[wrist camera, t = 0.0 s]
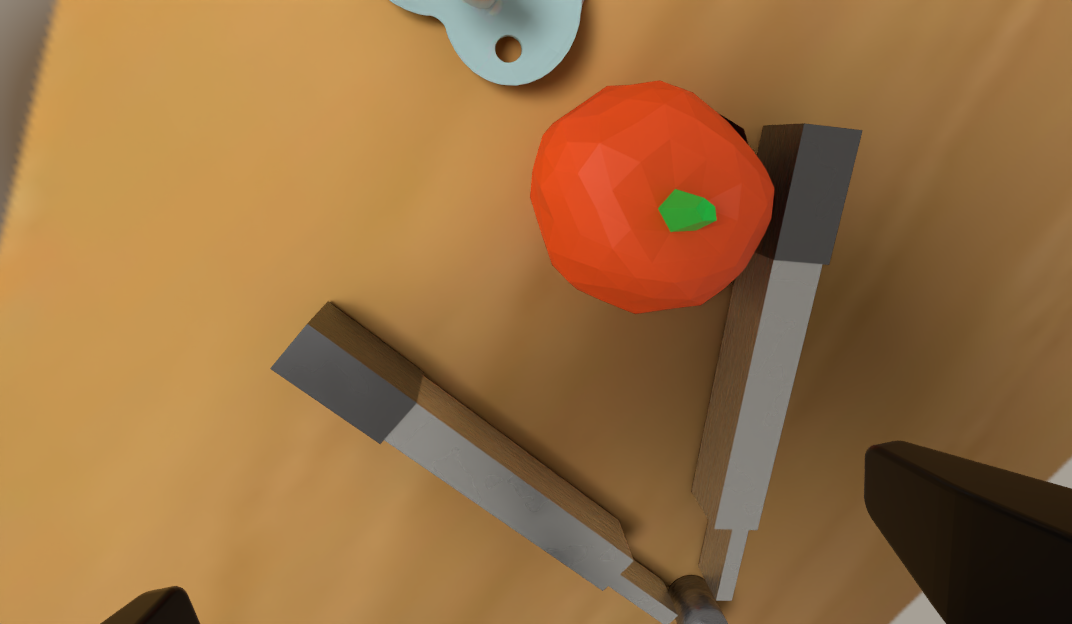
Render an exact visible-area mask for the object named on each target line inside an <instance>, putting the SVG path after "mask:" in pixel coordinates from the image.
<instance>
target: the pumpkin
mask: <svg viewBox="0 0 1072 624" xmlns="http://www.w3.org/2000/svg"><path fill="white" fill-rule="evenodd" d="M774 189H775V188H774V186H773V184H772V181H771V179H770V177H769V174H768V172H767V170H766V169H765V167H764V165H763V164H762V162H761V161H760V159H759V158H758V157H757V155H756V154H755V153H754V152H753V150H752V149H751V148H750V146H749V145H748V142H747V139H746V135H745V132H744V129H743V128H741V127H740V126H738V125H736V124H735V123H733V122H732V121H730V120H728V119H727V118H725V117H723V116H722V115H720V114H718V113H717V112H716V111H714V110H713V109H712V108H711V107H710V106H708V105H707V104H706V103H705V102H704V101H702V100H701V99H700V98H699V97H698V96H696V95H695V94H694V93H693V92H690V91H687V90H684V89H682V88H679V87H676V86H673V85H671V84H668V83H665V82H662V81H653V82H647V83H640V84H634V85H619V86H606V87H605V88H604V89H602V90H601V91H599V92H598V93H596V94H595V95H593V96H592V97H591V98H589V99H588V100H586V101H585V102H583V103H582V104H581V105H579V106H578V107H576V108H575V109H573V110H572V111H570V112H569V113H567V114H566V115H564V116H563V117H561V118H560V119H559V120H557V121H556V122H554V123H553V124H552V125H551V126H550V127H549V128H548V130H547V131H546V132H545V133H544V134H543V136H542V140H541V143H540V146H539V149H538V153H537V156H536V160H535V163H534V167H533V172H532V183H531V194H530V198H531V201H532V204H533V208H534V211H535V214H536V217H537V221H538V224H539V227H540V230H541V233H542V236H543V239H544V242H545V245H546V248H547V251H548V254H549V257H550V260H551V263H552V265H553V266H554V267H555V268H556V269H557V270H558V271H559V272H560V273H561V274H562V276H563V277H564V278H565V279H566V280H567V281H568V282H569V283H571V284H572V285H573V286H574V287H575V288H576V289H578V290H580V291H582V292H584V293H586V294H589V295H591V296H593V297H595V298H597V299H599V300H602V301H604V302H607V303H609V304H612V305H614V306H617V307H619V308H622V309H624V310H627V311H629V312H632V313H634V314H638V313H645V312H652V311H659V310H666V309H673V308H681V307H689V306H697V305H702V304H703V303H705V302H706V301H708V300H709V299H710V298H712V297H713V296H715V295H716V294H717V293H719V292H720V291H722V290H723V289H724V288H725V287H726V286H727V285H729V284H730V283H731V282H732V281H733V280H734V279H735V278H736V277H738V276H739V274H740V273H741V272H742V271H743V270H744V269H745V268H746V266H747V264H748V263H749V261H750V259H751V257H752V255H753V254H754V252H755V250H756V248H757V247H758V245H759V243H760V241H761V239H762V238H763V236H764V234H765V232H766V230H767V227H768V225H769V223H770V222H771V220H772V215H773V211H774V206H775V202H776V197H775V194H774Z"/></svg>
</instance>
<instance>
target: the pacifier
mask: <svg viewBox="0 0 1072 624" xmlns="http://www.w3.org/2000/svg"><path fill="white" fill-rule="evenodd" d="M390 1H391V2H392V3H394V4H396V5H398V6H400V7H402V8H404V9H406V10H408V11H411V12H414V13H417V14H420V15H427V16H434V17H436V18H437V19H439V20H440V21H441V22H442V23H443V24H444V26H445V28H446V31H447V34H448V37H449V40H450V42H451V43H452V45H453V47H454V49H455V51H456V53H457V54H458V55H459V57H460V58H461V59H462V61H463V62H464V63H465V64H466V65H467V66H468V67H469V68H470V69H471V70H472V71H473V72H475V73H476V74H478V75H479V76H481V77H483V78H484V79H486V80H488V81H491V82H493V83H497V84H501V85H513V86H515V85H521V84H527V83H530V82H532V81H535V80H537V79H540V78H542V77H543V76H545V75H546V74H548V73H549V72H551V71H552V70H553V69H554V68H555V67H556V66H557V65H558V64H559V63H560V62H561V61H562V59H563V58H564V57H565V55H566V54H567V52H568V51H569V49H570V47H571V45H572V43H573V41H574V39H575V37H576V33H577V30H578V26H579V23H580V13H581V9H582V4H583V2H584V0H390ZM507 36H509V37H513V38H515V39H517V40H518V41H519V43H520V45H521V49H522V52H521V56H520V57H519V58H518V59H517V60H516V61H514V62H511V63H506V62H503V61H501V60H500V59H499V58H498V57H497V55H496V53H495V45H496V43H497V41H498V40H499V39H501V38H503V37H507Z"/></svg>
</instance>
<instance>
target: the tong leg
mask: <svg viewBox="0 0 1072 624" xmlns="http://www.w3.org/2000/svg"><path fill="white" fill-rule="evenodd" d="M270 369H271V370H273V371H274V372H276V373H277V374H279V375H280V376H282V377H283V378H285V379H286V380H287V381H289V382H290V383H292V384H293V385H295V386H296V387H298V388H299V389H301V390H302V391H304V392H305V393H306V394H308V395H309V396H311V397H312V398H314V399H315V400H317V401H318V402H320V403H321V404H322V405H324V406H325V407H327V408H328V409H330V410H331V411H333V412H334V413H336V414H337V415H339V416H340V417H341V418H343V419H344V420H346V421H347V422H349V423H350V424H352V425H353V426H355V427H356V428H357V429H359V430H360V431H362V432H363V433H365V434H366V435H368V436H369V437H371V438H372V439H374V440H375V441H376V442H378V443H379V444H381V443H382V441H383V440H385V441H386V442H388V443H389V444H391V445H392V446H394V447H395V448H396V449H398V450H399V451H401V452H402V453H404V454H405V455H407V456H408V457H409V458H411V459H412V460H414V461H415V462H417V463H418V464H420V465H421V466H423V467H424V468H425V469H427V470H428V471H430V472H431V473H433V474H434V475H436V476H437V477H438V478H440V479H441V480H443V481H444V482H446V483H447V484H449V485H450V486H452V487H453V488H454V489H456V490H457V491H459V492H460V493H462V494H463V495H465V496H466V497H467V498H469V499H470V500H472V501H473V502H475V503H476V504H478V505H479V506H481V507H482V508H483V509H485V510H486V511H488V512H489V513H491V514H492V515H494V516H495V517H496V518H498V519H499V520H501V521H502V522H504V523H505V524H507V525H508V526H510V527H511V528H512V529H514V530H515V531H517V532H518V533H520V534H521V535H523V536H524V537H525V538H527V539H528V540H530V541H531V542H533V543H534V544H536V545H537V546H539V547H540V548H541V549H543V550H544V551H546V552H547V553H549V554H550V555H552V556H553V557H554V558H556V559H557V560H559V561H560V562H562V563H563V564H565V565H566V566H568V567H569V568H570V569H572V570H573V571H575V572H576V573H578V574H579V575H581V576H582V577H583V578H585V579H586V580H588V581H589V582H591V583H592V584H594V585H595V586H597V587H598V588H599V589H601V590H602V591H603V590H604V589H605V588H606V587H607V586H609V587H611V588H612V589H614V590H615V591H616V592H618V593H619V594H621V595H622V596H624V597H625V598H627V599H628V600H629V601H631V602H632V603H634V604H635V605H637V606H638V607H639V608H641V609H642V610H644V611H645V612H647V613H648V614H650V615H651V616H652V617H654V618H655V619H657V620H658V621H660V622H661V623H662V624H669V623H670V622H672V621H673V620H674V619H675V618H676V617H677V616H678V614H677V612H676V610H675V607H674V605H673V603H672V600H671V598H670V596H669V593H668V591H667V589H666V586H665V584H664V582H663V580H661V579H660V578H659V577H657V576H656V575H655V574H653V573H652V572H650V571H649V570H648V569H646V568H645V567H644V566H642V565H641V564H639V563H638V562H637V561H635V560H634V559H633V557H632V554H631V551H630V549H629V546H628V543H627V541H626V538H625V535H624V533H623V530H622V527H621V525H620V522H619V520H618V519H616V518H615V517H614V516H612V515H611V514H609V513H608V512H607V511H605V510H604V509H603V508H601V507H600V506H599V505H597V504H596V503H595V502H593V501H592V500H591V499H589V498H588V497H587V496H585V495H584V494H583V493H581V492H580V491H579V490H577V489H576V488H574V487H573V486H572V485H570V484H569V483H568V482H566V481H565V480H564V479H562V478H561V477H560V476H558V475H557V474H556V473H554V472H553V471H552V470H550V469H549V468H548V467H546V466H545V465H544V464H542V463H541V462H539V461H538V460H537V459H535V458H534V457H533V456H531V455H530V454H529V453H527V452H526V451H525V450H523V449H522V448H521V447H519V446H518V445H517V444H515V443H514V442H513V441H511V440H510V439H509V438H507V437H506V436H504V435H503V434H502V433H500V432H499V431H498V430H496V429H495V428H494V427H492V426H491V425H490V424H488V423H487V422H486V421H484V420H483V419H482V418H480V417H479V416H478V415H476V414H475V413H474V412H472V411H471V410H470V409H468V408H467V407H465V406H464V405H463V404H461V403H460V402H459V401H457V400H456V399H455V398H453V397H452V396H451V395H449V394H448V393H447V392H445V391H444V390H443V389H441V388H440V387H439V386H437V385H436V384H435V383H433V382H432V381H430V380H429V379H428V378H426V377H425V376H424V375H423V373H424V372H423V371H421V370H420V369H418V368H417V367H416V366H414V365H413V364H412V363H410V362H409V361H408V360H406V359H405V358H404V357H402V356H401V355H400V354H398V353H397V352H396V351H394V350H393V349H392V348H390V347H389V346H388V345H386V344H385V343H384V342H382V341H381V340H380V339H378V338H377V337H376V336H374V335H373V334H371V333H370V332H369V331H367V330H366V329H365V328H363V327H362V326H361V325H359V324H358V323H357V322H355V321H354V320H353V319H351V318H350V317H349V316H347V315H346V314H345V313H343V312H342V311H341V310H339V309H338V308H337V307H335V306H334V305H333V304H331V303H330V302H329V301H328V302H327V303H326V304H325V305H324V306H323V307H322V308H321V310H320V311H319V312H318V313H317V314H316V315H315V316H314V317H313V318H312V319H311V320H310V321H309V323H308V324H307V325H306V326H305V327H304V328H303V330H302V331H301V332H300V333H299V334H298V336H297V337H296V338H295V339H294V341H293V342H292V343H291V344H290V345H289V347H288V348H287V349H286V350H285V351H284V353H283V354H282V355H281V356H280V357H279V359H278V360H277V361H276V362H275V363H274V365H273V366H272V367H271V368H270Z"/></svg>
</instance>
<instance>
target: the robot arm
mask: <svg viewBox="0 0 1072 624" xmlns="http://www.w3.org/2000/svg"><path fill="white" fill-rule="evenodd" d="M864 499H865V505H866V508H867V511H868V513H869V515H870V517H871V518H872V520H873V521H874V523H875V524H876V526H877V527H878V528H879V530H880V531H881V533H882V534H883V536H884V537H885V538H886V540H887V541H888V543H889V544H890V546H891V547H892V548H893V550H894V551H895V553H896V554H897V556H898V557H899V558H900V560H901V561H902V563H903V564H904V565H905V567H906V568H907V570H908V571H909V573H910V574H911V575H912V577H913V578H914V580H915V581H916V583H917V584H918V585H919V587H920V588H921V590H922V591H923V593H924V594H925V595H926V597H927V598H928V600H929V601H930V603H931V604H932V605H933V607H934V608H935V609H936V611H937V612H938V613H939V615H940V616H941V617H942V619H943V620H944V621H945V623H946V624H1072V489H1071V488H1067V487H1063V486H1060V485H1057V484H1053V483H1050V482H1046V481H1043V480H1039V479H1035V478H1032V477H1028V476H1025V475H1021V474H1018V473H1014V472H1011V471H1007V470H1004V469H1000V468H996V467H993V466H989V465H986V464H982V463H979V462H975V461H972V460H968V459H965V458H961V457H957V456H954V455H950V454H947V453H943V452H940V451H936V450H933V449H929V448H926V447H922V446H918V445H915V444H911V443H908V442H904V441H892V442H887V443H882V444H877V445H873V446H871V447H869V448H868V449H867V451H866V454H865V480H864ZM101 624H200V622H199V620H198V618H197V615H196V613H195V610H194V608H193V606H192V603H191V601H190V599H189V596H188V594H187V593H186V591H185V590H184V589H183V588H181V587H178V586H172V587H167V588H162V589H157V590H152V591H148V592H145V593H143V594H141V595H140V596H138V597H137V598H135V599H134V600H133V601H131V602H130V603H128V604H127V605H126V606H124V607H123V608H121V609H120V610H119V611H117V612H116V613H115V614H113V615H112V616H110V617H109V618H108V619H106V620H105V621H104V622H102V623H101Z"/></svg>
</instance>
